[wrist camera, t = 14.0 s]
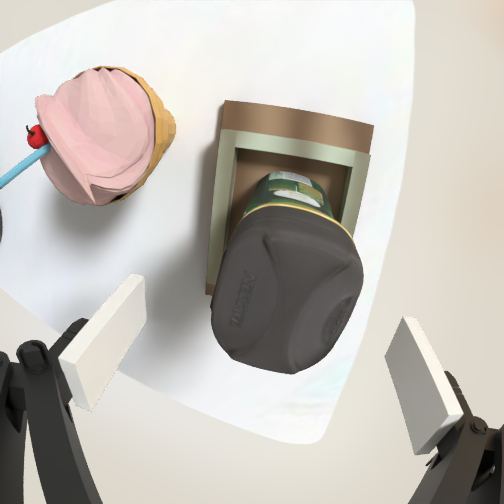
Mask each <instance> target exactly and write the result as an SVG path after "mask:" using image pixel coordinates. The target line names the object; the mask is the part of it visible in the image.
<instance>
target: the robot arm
mask: <svg viewBox="0 0 504 504" xmlns="http://www.w3.org/2000/svg"><path fill="white" fill-rule="evenodd" d="M1 236H2V217H1V211H0V241H1ZM146 321H147V316H146V298H145V276H141V275H136V274H130V275H129V276H128V277H127V278H126V279H125V281H124V282H123V283H122V284H121V285H120V286H119V287H118V288H117V289H116V290H115V292H114V293H113V294H112V295H111V296H110V297H109V298H108V299H107V300H106V302H105V303H104V304H103V305H102V306H101V307H100V308H99V310H98V311H97V312H96V313H95V314H94V315H93V316H92V318H91V319H90V320H88V319H84V318H81V319H79V320H77V321H75V322H74V323H72V324H71V325H70V327H69V328H68V329H67V330H66V332H64V333H63V334H62V336H61V337H60V338H59V339H58V340H57V341H56V342H55V344H54V345H53V346H52V347H51V348H50V349H49V350H48V349H47V347H46V345H45V344H44V343H43V342H42V341H38V340H30V341H27V342H24V343H23V344H21V345H20V346H19V348H18V349H17V352H16V355H17V357H18V360H19V362H20V363H15V362H10V360H9V358H8V356H7V354H6V353H4V352H1V351H0V504H24V501H23V500H24V499H23V475H24V452H25V439H26V428H27V419H28V424H29V431H30V437H31V442H32V448H33V452H34V457H35V461H36V466H37V470H38V474H39V478H40V482H41V486H42V490H43V492H44V496H45V500H46V503H47V504H103V503H102V501H101V498H100V496H99V493H98V491H97V489H96V486H95V484H94V481H93V479H92V476H91V474H90V471H89V468H88V465H87V462H86V460H85V457H84V454H83V451H82V448H81V445H80V441H79V438H78V435H77V431H76V428H75V424H74V421H73V417H72V413H71V410H70V406H69V404H68V403H69V401H70V400H71V398H72V397H73V399H74V402H75V404H76V406H78V407H81V408H83V409H86V410H88V411H91V412H92V410H93V409H94V407H95V405H96V403H97V402H98V400H99V398H100V396H101V395H102V393H103V391H104V390H105V388H106V386H107V385H108V383H109V381H110V379H111V378H112V376H113V374H114V373H115V371H116V370H117V368H118V366H119V365H120V363H121V361H122V360H123V358H124V356H125V355H126V353H127V352H128V350H129V348H130V347H131V345H132V344H133V342H134V340H135V339H136V337H137V336H138V334H139V332H140V331H141V329H142V328H143V326H144V325H145V323H146ZM385 359H386V362H387V365H388V368H389V371H390V374H391V377H392V380H393V383H394V386H395V389H396V392H397V395H398V398H399V402H400V405H401V408H402V412H403V415H404V419H405V422H406V425H407V429H408V432H409V436H410V440H411V443H412V446H413V451H414V454H415V455H421V454H429V453H430V452H431V451H432V450H433V449H434V448H435V447H436V446H437V449H438V453H437V454H436V455H435V456H434V457H433V458H432V459H431V460H430V461H429V462H428V463H427V464H426V466H428V465H429V464H430V463H431V464H430V466H429V468H428V470H427V471H426V473H425V475H424V477H423V479H422V481H421V483H420V484H419V486H418V488H417V489H416V491H415V493H414V495H413V496H412V498H411V499H410V501H409V503H408V504H504V424H503V426H502V427H501V428H500V429H499V430H498V429H492V428H488V426H487V424H486V422H485V421H484V420H482V419H481V418H479V417H476V416H473V415H472V413H471V410H470V408H469V406H468V404H467V402H466V400H465V398H464V396H463V395H462V391H461V389H460V388H459V385H458V384H457V381H456V379H455V378H454V377H453V376H452V375H451V374H450V373H449V372H448V371H443V369H442V367H441V365H440V363H439V361H438V359H437V357H436V355H435V353H434V351H433V349H432V348H431V346H430V344H429V342H428V340H427V338H426V336H425V335H424V333H423V331H422V329H421V327H420V325H419V324H418V322H417V320H416V318H415V317H406V316H403V317H402V319H401V322H400V324H399V326H398V329H397V331H396V333H395V335H394V337H393V340H392V342H391V344H390V346H389V349H388V351H387V353H386V355H385ZM494 467H495V468H494ZM493 469H494V472H493Z"/></svg>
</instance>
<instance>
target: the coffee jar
mask: <svg viewBox="0 0 504 504" xmlns="http://www.w3.org/2000/svg"><path fill="white" fill-rule="evenodd" d="M363 277H364V274H363V267H362V262H361V259H360V257H359V255H358V252H357V250H356V246H355V244H354V241H353V238H352V237H351V235H350V234H349V232H348V231H347V230H346V229H345V228H344V227H343V226H342V225H341V224H340V223H339V222H338V221H336V220H335V219H334V218H333V215H332V211H331V207H330V204H329V201H328V198H327V195H326V193H325V191H324V190H323V188H322V187H321V186H320V185H319V184H318V183H316V182H315V181H313V180H311V179H309V178H306V177H304V176H301V175H298V174H294V173H290V172H283V171H277V172H272V173H269V174H267V175H265V176H264V177H263V178H262V179H261V180H260V181H259V182H258V184H257V186H256V188H255V190H254V192H253V194H252V196H251V199H250V201H249V204H248V206H247V208H246V210H245V212H244V214H243V217H242V219H241V220H240V222H239V223H238V225H237V227H236V228H235V230H234V232H233V234H232V238H231V240H230V242H229V245H228V248H227V249H226V250H225V252H224V253H223V255H222V259H221V264H220V268H219V272H218V276H217V280H216V285H215V289H214V292H213V296H212V300H211V304H210V308H211V311H212V314H211V325H212V330H213V333H214V335H215V338H216V339H217V341H218V343H219V345H220V346H221V347H222V348H223V350H224V351H225V352H226V353H227V354H228V355H229V356H230V358H232V359H233V360H235V361H238V362H241V363H244V364H247V365H250V366H253V367H257V368H260V369H264V370H269V371H273V372H279V373H285V374H291V375H292V374H296V373H297V372H299V371H302V370H305V369H307V368H309V367H311V366H313V365H315V364H316V363H318V362H319V361H321V360H322V359H323V358H324V357H325V356H326V355H327V354H328V353H329V352H330V351H331V349H332V348H333V347H334V345H335V343H336V341H337V340H338V338H339V337H340V335H341V333H342V331H343V330H344V328H345V326H346V324H347V322H348V321H349V318H350V316H351V314H352V312H353V309H354V307H355V305H356V302H357V299H358V297H359V295H360V292H361V289H362V285H363Z"/></svg>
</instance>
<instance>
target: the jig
mask: <svg viewBox="0 0 504 504" xmlns="http://www.w3.org/2000/svg"><path fill="white" fill-rule="evenodd" d="M373 129H374V125H370V124H366V123H362V122H358V121H354V120H349V119H345V118H340V117H336V116H331V115H326V114H321V113H315V112H310V111H304V110H299V109H293V108H286V107H280V106H273V105H265V104H257V103H249V102H239V101H229V100H225V102H224V110H223V118H222V125H221V132H220V141H219V149H218V158H217V167H216V176H215V186H214V195H213V206H212V216H211V227H210V239H209V251H208V263H207V276H206V292H205V294H206V295H212V296H213V292H214V289H215V285H216V280H217V276H218V272H219V268H220V264H221V259H222V255H223V253H224V252H225V250H226V249H227V248H228V245H229V242H230V240H231V238H232V234H233V232H234V230H235V228H236V227H237V225H238V223H239V222H240V220H241V219H242V217H243V214H244V212H245V210H246V208H247V206H248V204H249V201H250V199H251V196H252V194H253V192H254V190H255V188H256V186H257V184H258V182H259V181H260V180H261V179H262V178H263V177H264V176H265V175H267V174H269V173H272V172H277V171H283V172H290V173H294V174H298V175H301V176H304V177H306V178H309V179H311V180H313V181H315V182H316V183H318V184H319V185H320V186H321V187H322V188H323V190H324V191H325V193H326V195H327V198H328V201H329V204H330V207H331V211H332V215H333V218H334V219H335V220H336V221H338V222H339V223H340V224H341V225H342V226H343V227H344V228H345V229H346V230H347V231H348V232H349V234H350V235H351V237H352V238H353V234H354V230H355V226H356V222H357V218H358V214H359V209H360V205H361V200H362V196H363V191H364V187H365V182H366V177H367V172H368V167H369V162H370V157H371V155H370V154H369V152H370V146H371V140H372V135H373Z"/></svg>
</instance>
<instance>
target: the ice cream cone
mask: <svg viewBox="0 0 504 504" xmlns="http://www.w3.org/2000/svg"><path fill="white" fill-rule="evenodd" d="M35 107H36V109H37V114H38V115H37V118H38V121H39V124H38V125H35V126H33V127H32V128H31V129H30V130H29V129H28V125H27V126H26V129H27V132H28V136H27V141H28V144H29V145H30V146H31V147H32V148H33V149H38V150H37V151H35V152H34V153H32V154H31V155H30V156H28V157H27V158H26V159H24V160H23V161H22V162H20V163H19V164H18V165H16V166H15V167H14V168H12V169H11V170H10V171H9V172H7V173H6V174H5V175H4V176H2V177H1V178H0V189H2V188H3V187H4V186H5V185H7V184H8V183H9V182H10V181H11V180H13V179H14V178H15V177H16V176H18V175H19V174H20V173H21V172H23V171H24V170H25V169H27V168H28V167H29V166H30V165H32V164H33V163H34V162H36V161H37V160H39V159H40V161H41V164H42V166H43V169H44V171H45V173H46V175H47V176H48V177H49V179H50V180H51V182H52V183H53V184H54V186H55V187H56V188H57V189H58V190H59V191H60V192H61V193H62V194H63V195H65V196H66V197H67V198H69V199H70V200H72V201H74V202H77V203H80V204H84V205H98V206H103V205H107V204H110V203H113V202H117V201H120V200H124V199H125V198H126V197H128V196H129V195H130V194H132V193H133V192H134V191H136V190H137V189H138V188H140V187H141V186H142V185H144V183H145V181H146V180H147V178H148V176H149V175H150V174H151V173H152V172H153V170H154V168H155V167H156V165H157V164H158V162H159V161H160V159H161V157H162V154H163V152H164V150H166V149H167V148H168V147H169V146H170V145H171V143H172V142H173V140H174V137H175V134H176V124H175V120H174V117H173V116H172V115H171V113H170V112H169V111H168V110H166V109H165V108H164V106H163V103H162V101H161V100H160V98H159V97H158V96H157V94H156V93H155V92H154V90H153V89H152V88H151V87H149V85H148V84H147V83H146V81H145V80H144V79H143V78H141V77H139V76H138V75H136V74H134V73H132V72H130V71H129V70H127V69H125V68H122V67H111V66H99V67H95V68H92V69H88V70H86V71H83V72H80V73H79V74H78V75H77V76H75V77H74V78H73V79H71V80H69V81H66V82H65V83H63V84H62V85H61V86H60V87H59V88H58V89H57V91H56V93H55V95H54V96H50V95H46V94H45V95H41V96H40V97H39V96H37V97H36V98H35Z"/></svg>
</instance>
